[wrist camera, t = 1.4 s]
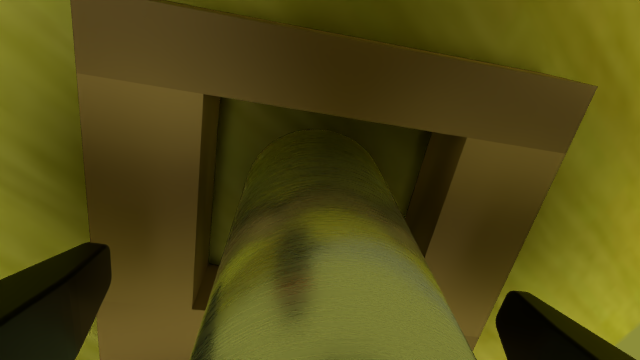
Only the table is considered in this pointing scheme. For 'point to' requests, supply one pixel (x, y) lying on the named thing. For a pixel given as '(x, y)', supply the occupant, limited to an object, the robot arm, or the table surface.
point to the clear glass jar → (323, 266)
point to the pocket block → (308, 95)
